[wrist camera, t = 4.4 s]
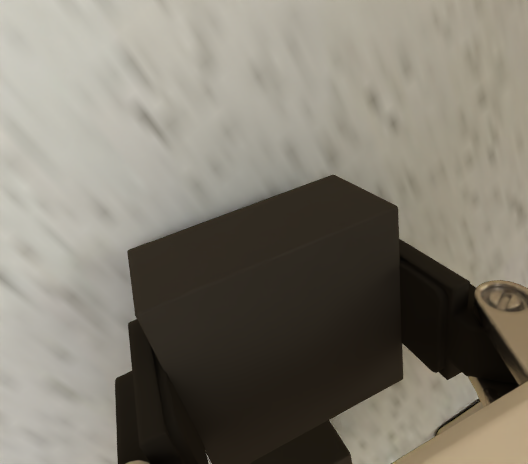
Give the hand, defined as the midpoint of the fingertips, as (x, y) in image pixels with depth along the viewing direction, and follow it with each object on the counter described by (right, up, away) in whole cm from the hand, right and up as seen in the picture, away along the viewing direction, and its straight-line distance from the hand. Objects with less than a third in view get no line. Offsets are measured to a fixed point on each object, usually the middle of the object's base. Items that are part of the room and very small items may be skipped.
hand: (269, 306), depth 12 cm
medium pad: (0, 0, +1) cm, 1 cm away
